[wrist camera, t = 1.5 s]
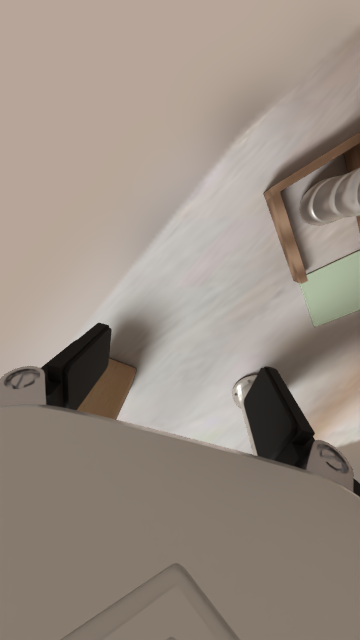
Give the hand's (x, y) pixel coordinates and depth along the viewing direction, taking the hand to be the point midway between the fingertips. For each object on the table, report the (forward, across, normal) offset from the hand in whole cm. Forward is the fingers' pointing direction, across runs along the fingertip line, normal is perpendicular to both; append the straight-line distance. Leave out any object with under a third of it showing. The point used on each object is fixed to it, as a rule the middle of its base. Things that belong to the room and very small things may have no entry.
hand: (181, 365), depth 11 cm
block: (+30, +14, +32) cm, 46 cm away
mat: (+30, -29, -5) cm, 41 cm away
